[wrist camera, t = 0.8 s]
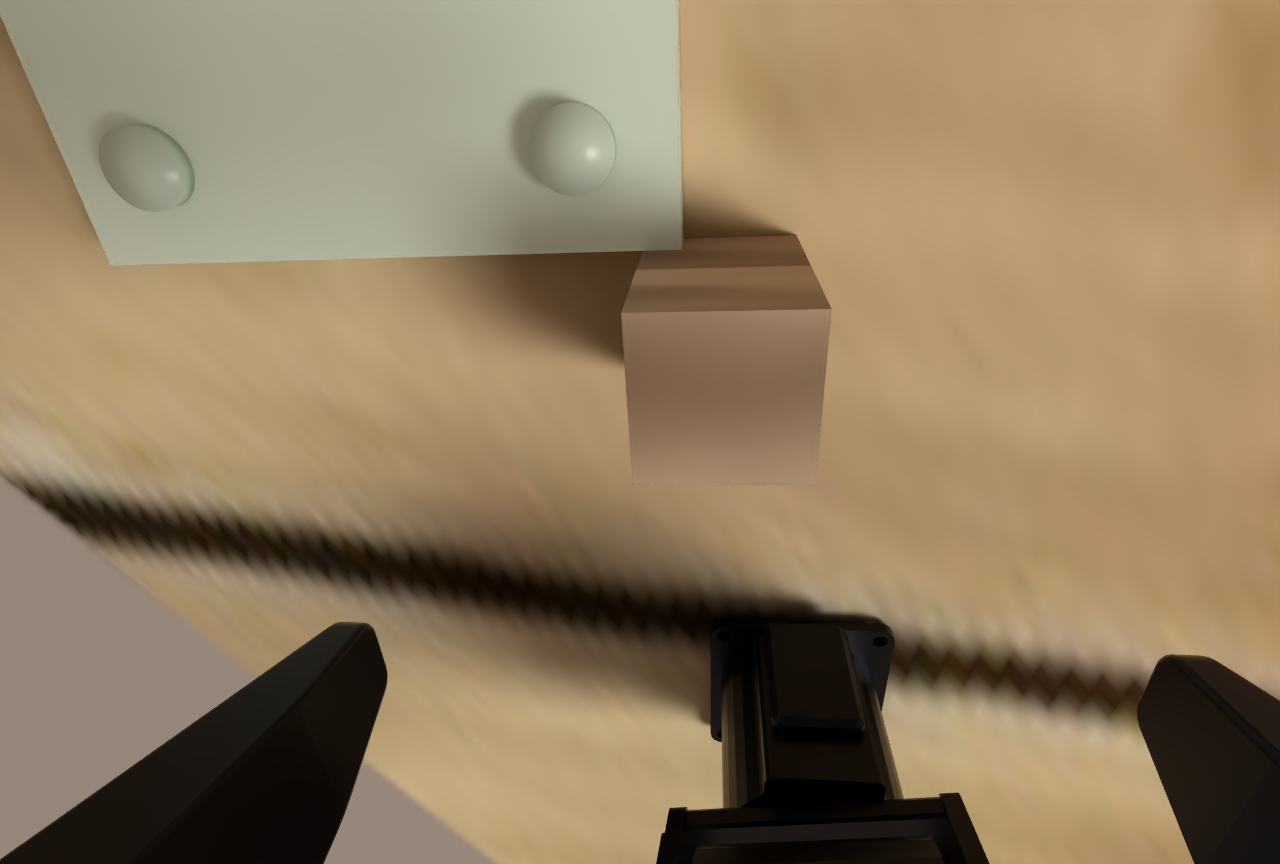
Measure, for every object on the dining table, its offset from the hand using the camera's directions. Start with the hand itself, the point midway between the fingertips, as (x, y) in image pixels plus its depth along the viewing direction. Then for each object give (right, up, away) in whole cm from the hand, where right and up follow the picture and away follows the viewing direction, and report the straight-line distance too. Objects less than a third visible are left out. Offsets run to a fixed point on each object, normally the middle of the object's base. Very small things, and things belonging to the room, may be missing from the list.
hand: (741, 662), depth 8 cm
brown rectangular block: (+1, +6, +11) cm, 13 cm away
